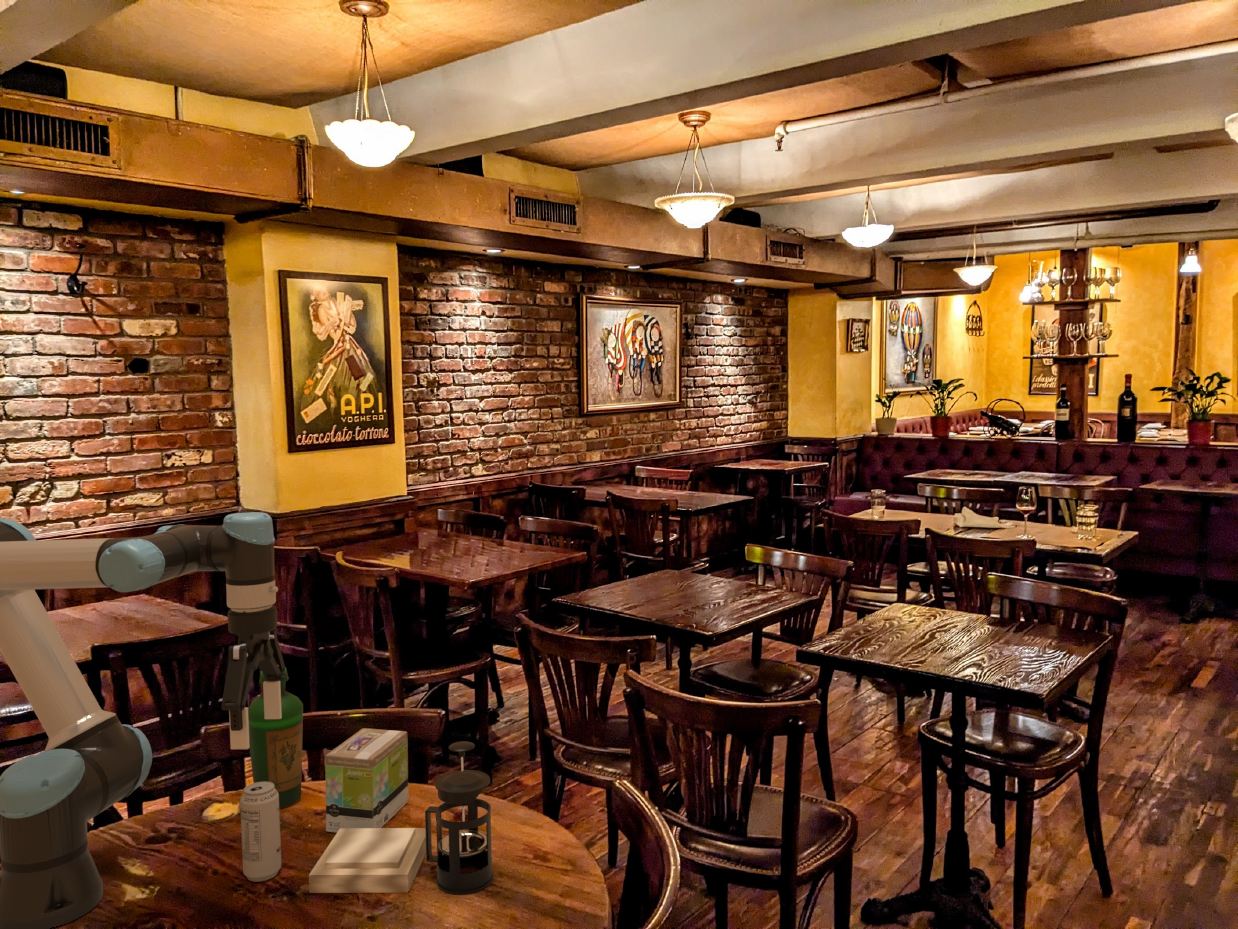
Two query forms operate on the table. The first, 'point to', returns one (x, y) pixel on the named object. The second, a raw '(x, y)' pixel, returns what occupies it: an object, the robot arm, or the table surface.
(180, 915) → the table surface
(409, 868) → the birch base
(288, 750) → the bottle
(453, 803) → the french press
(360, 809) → the tea box
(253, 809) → the energy drink can
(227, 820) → the table surface
